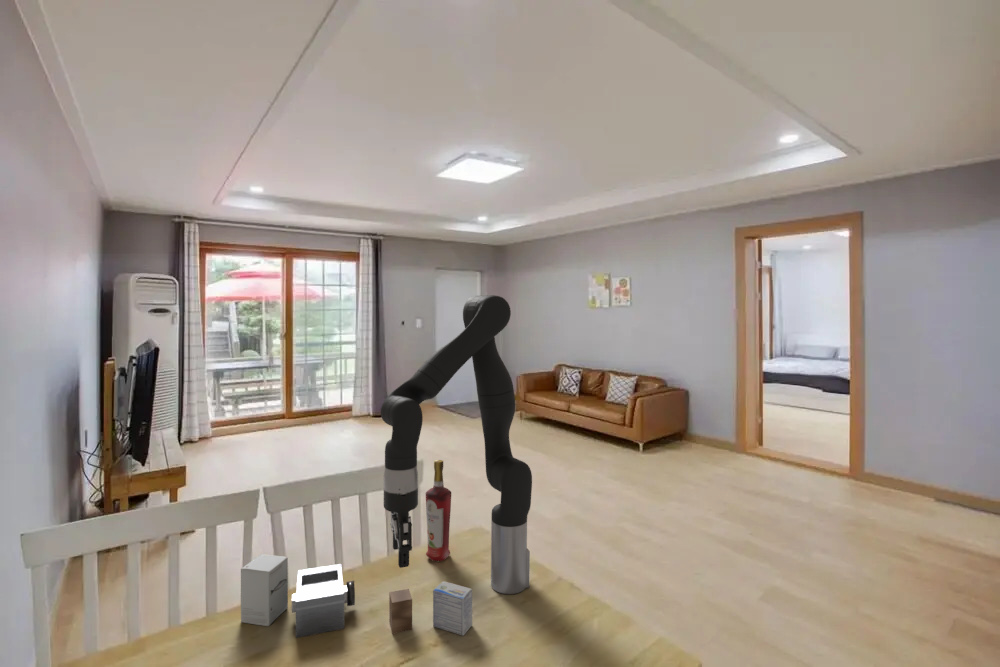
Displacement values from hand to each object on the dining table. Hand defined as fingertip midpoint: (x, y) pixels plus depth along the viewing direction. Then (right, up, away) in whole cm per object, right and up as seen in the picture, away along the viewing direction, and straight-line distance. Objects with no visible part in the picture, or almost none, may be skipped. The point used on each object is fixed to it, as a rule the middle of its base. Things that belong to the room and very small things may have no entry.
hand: (400, 557), depth 114 cm
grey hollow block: (-20, -15, +4) cm, 25 cm away
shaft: (-19, -14, +5) cm, 24 cm away
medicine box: (+12, -16, +1) cm, 20 cm away
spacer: (0, -16, +1) cm, 16 cm away
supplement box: (-32, -16, +4) cm, 36 cm away
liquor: (+4, -15, +32) cm, 36 cm away
